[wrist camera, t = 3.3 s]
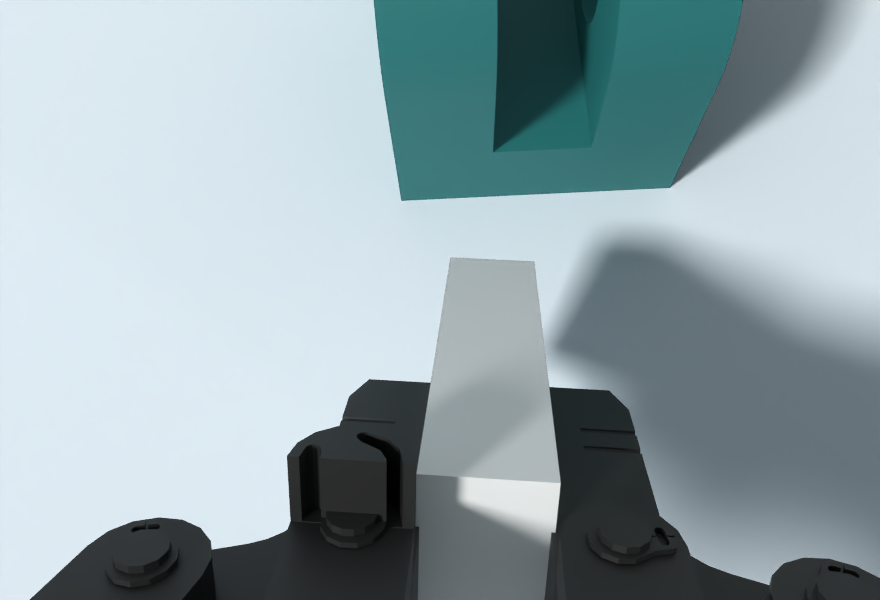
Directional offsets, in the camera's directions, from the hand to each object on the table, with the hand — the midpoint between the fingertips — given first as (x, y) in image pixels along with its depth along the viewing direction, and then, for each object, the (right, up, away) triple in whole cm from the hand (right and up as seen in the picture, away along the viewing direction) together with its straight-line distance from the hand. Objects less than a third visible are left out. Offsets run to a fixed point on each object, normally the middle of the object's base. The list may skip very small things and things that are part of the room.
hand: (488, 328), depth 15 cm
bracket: (+1, +11, +9) cm, 15 cm away
